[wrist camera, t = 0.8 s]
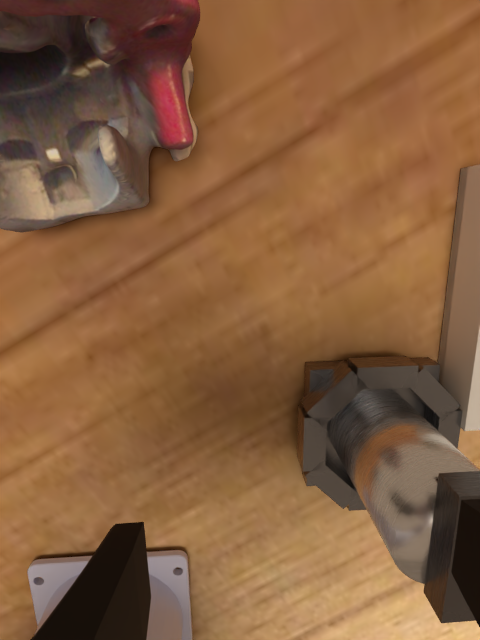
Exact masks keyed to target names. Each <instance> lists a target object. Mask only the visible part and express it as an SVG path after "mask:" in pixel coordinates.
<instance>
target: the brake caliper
mask: <svg viewBox="0 0 480 640" xmlns="http://www.w3.org/2000/svg"><path fill="white" fill-rule="evenodd" d="M199 21H200V7H199V3H198V0H0V228H1V229H4V230H11V231H15V232H28V231H33V230H39V229H44V228H49V227H53V226H57V225H60V224H63V223H66V222H69V221H71V220H74V219H77V218H80V217H84V216H90V215H98V214H108V213H114V212H120V211H125V210H131V209H136V208H141V207H144V206H146V205H147V204H148V203H149V201H150V200H149V193H148V188H149V156H150V153H151V150H152V149H153V148H154V147H161V148H164V149H169V151H170V153H171V156H172V159H173V160H174V161H179V160H182V159H185V158H187V157H188V156H189V155H190V153H191V150H192V149H193V147H194V145H195V143H196V141H197V135H198V128H197V126H196V124H195V123H194V121H193V119H192V117H191V114H190V110H189V106H188V99H189V95H190V92H191V89H192V85H193V82H194V71H193V66H192V62H191V57H190V52H191V49H192V43H191V41H192V39H193V37H194V35H195V33H196V29H197V27H198V24H199Z"/></svg>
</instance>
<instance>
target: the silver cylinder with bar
mask: <svg viewBox="0 0 480 640" xmlns="http://www.w3.org/2000/svg"><path fill="white" fill-rule="evenodd" d="M330 439H331V442H332V445H333V447H334V449H335V451H336V452H337V454H338V456H339V458H340V460H341V462H342V464H343V466H344V468H345V469H346V471H347V473H348V475H349V477H350V479H351V481H352V483H353V485H354V486H355V488H356V490H357V492H358V494H359V496H360V498H361V500H362V502H363V503H364V505H365V507H366V509H367V511H368V513H369V515H370V517H371V519H372V520H373V522H374V524H375V526H376V528H377V530H378V532H379V534H380V536H381V537H382V539H383V541H384V543H385V545H386V547H387V549H388V551H389V553H390V554H391V556H392V558H393V560H394V562H395V564H396V565H397V567H398V568H399V569H400V570H401V571H402V572H403V573H404V574H405V575H407V576H408V577H409V578H411V579H413V580H415V581H417V582H420V583H423V584H425V585H424V594H425V595H426V597H427V599H428V601H429V602H430V604H431V606H432V608H433V609H434V611H435V613H436V615H437V617H438V618H439V620H440V622H441V623H449V622H462V621H474V620H475V618H474V616H473V614H472V612H471V610H470V608H469V606H468V605H467V603H466V601H465V599H464V597H463V595H462V593H461V591H460V589H459V587H458V585H457V583H456V581H455V579H454V577H453V575H452V573H451V571H452V564H453V556H454V549H455V542H456V534H457V527H458V520H459V512H460V505H461V500H469V499H480V470H479V469H478V468H477V467H476V466H475V465H474V464H473V463H472V462H471V461H470V460H469V459H468V458H467V457H466V456H464V455H463V454H462V453H461V452H460V451H459V450H458V449H457V448H456V447H455V446H454V445H453V444H452V443H451V442H449V441H448V440H447V439H446V438H445V437H444V436H443V435H442V434H441V433H440V432H439V431H438V430H437V429H436V428H434V427H433V426H432V425H431V424H430V423H429V422H428V421H427V420H426V419H425V418H424V417H423V416H422V415H421V414H420V413H418V412H417V411H416V410H415V409H414V408H413V407H412V406H411V405H410V404H409V403H408V402H407V401H406V400H405V399H403V398H402V397H401V396H400V395H398V394H397V393H395V392H393V391H391V390H387V389H372V390H362V391H361V392H360V393H359V394H358V395H357V396H356V397H354V398H353V399H352V400H351V401H350V402H349V403H348V404H347V405H346V406H345V407H344V408H343V409H342V410H340V411H339V412H338V413H337V414H336V415H335V416H334V417H333V418H332V419H331V423H330Z"/></svg>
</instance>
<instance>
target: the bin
mask: <svg viewBox="0 0 480 640" xmlns="http://www.w3.org/2000/svg"><path fill="white" fill-rule="evenodd" d="M438 364H440V372H439V381H438V382H439V383H440V384H441V385H442V386H443V388H444V389H445V390H446V391H447V392H448V393H449V394H450V395H451V396H452V397H453V398H454V399H455V400H456V401H457V402H458V403H459V404H460V405H461V406H460V407H459V409H461V410H462V411H463V412H462V419H461V426H460V428H462V429H463V430H464V431H474V430H480V165H475V166H471V167H466V168H461V172H460V180H459V189H458V197H457V206H456V214H455V223H454V231H453V240H452V248H451V257H450V265H449V273H448V282H447V290H446V299H445V307H444V316H443V324H442V333H441V341H440V350H439V358H438Z"/></svg>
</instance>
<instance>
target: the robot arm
mask: <svg viewBox="0 0 480 640" xmlns="http://www.w3.org/2000/svg"><path fill="white" fill-rule="evenodd" d="M177 567H179V568H181V569H176V568H177ZM27 573H28V579H29V584H30V589H31V594H32V600H33V605H34V610H35V616H36V621H37V626H38V627H37V629H36V632H35V634H34V636H33V637H32V639H31V640H193V636H192V620H191V603H190V587H189V570H188V557H187V554H186V553H185V552H184V551H181V550H171V551H156V552H147V550H146V540H145V531H144V522H138V523H123V524H115V525H114V526H113V527H112V528H111V529H110V531H109V532H108V534H107V535H106V537H105V538H104V540H103V541H102V543H101V544H100V546H99V547H98V549H97V550H96V552H95V553H94V555H93V556H80V557H65V558H50V559H38V560H34V561H33V562H32V563H31V565H30V566H29V568H28V572H27ZM451 573H452V575H453V577H454V579H455V581H456V583H457V585H458V587H459V589H460V591H461V593H462V595H463V597H464V599H465V601H466V603H467V605H468V606H469V608H470V610H471V612H472V614H473V616H474V618H475V620H476V621H477V623H478V625H479V627H480V499H469V500H461V505H460V512H459V520H458V527H457V534H456V542H455V549H454V556H453V564H452V571H451ZM39 577H41V578H39Z"/></svg>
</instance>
